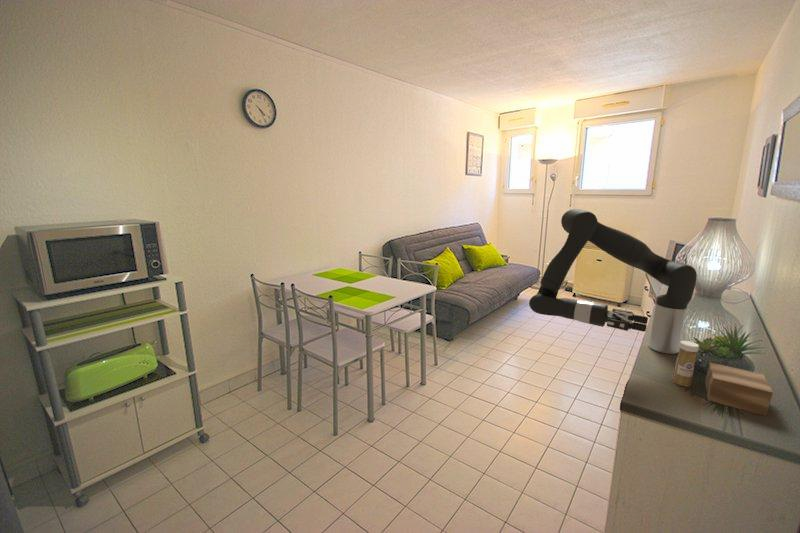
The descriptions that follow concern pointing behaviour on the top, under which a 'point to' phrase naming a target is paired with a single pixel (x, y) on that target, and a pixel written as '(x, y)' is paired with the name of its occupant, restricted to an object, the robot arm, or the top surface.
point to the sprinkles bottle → (685, 363)
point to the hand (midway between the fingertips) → (646, 324)
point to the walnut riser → (738, 388)
